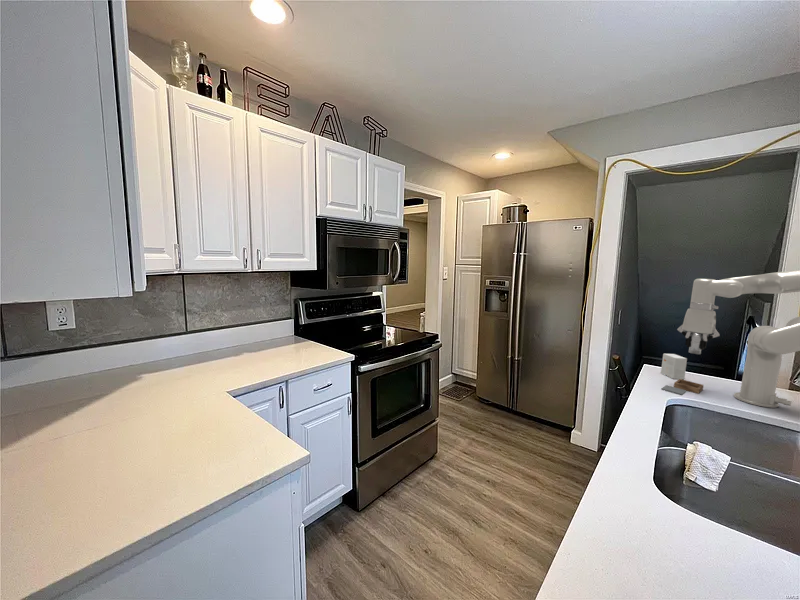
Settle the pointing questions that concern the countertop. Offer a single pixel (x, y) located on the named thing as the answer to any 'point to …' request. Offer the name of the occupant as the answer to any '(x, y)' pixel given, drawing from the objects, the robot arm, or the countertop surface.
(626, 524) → the countertop surface
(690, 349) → the peg
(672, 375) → the small box
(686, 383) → the frame
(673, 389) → the pad
